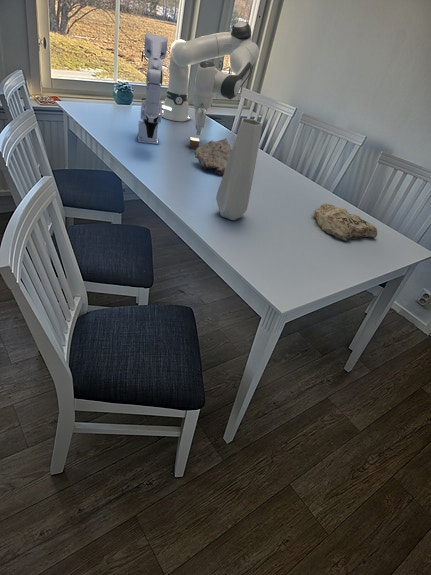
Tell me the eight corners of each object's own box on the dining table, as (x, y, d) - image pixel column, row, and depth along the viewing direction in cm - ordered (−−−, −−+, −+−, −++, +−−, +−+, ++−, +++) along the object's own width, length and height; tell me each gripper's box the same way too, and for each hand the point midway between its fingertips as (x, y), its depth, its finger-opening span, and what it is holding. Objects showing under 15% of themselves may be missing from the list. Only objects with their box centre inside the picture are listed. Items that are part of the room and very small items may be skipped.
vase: (253, 221, 137) (278, 128, 117) (226, 224, 131) (248, 127, 111) (236, 206, 144) (257, 116, 124) (210, 208, 139) (227, 114, 119)
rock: (234, 142, 173) (214, 126, 161) (245, 170, 166) (225, 155, 155) (210, 161, 180) (189, 148, 168) (219, 189, 174) (199, 176, 162)
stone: (347, 232, 131) (303, 198, 147) (341, 246, 135) (298, 211, 150) (382, 227, 141) (337, 195, 156) (375, 240, 144) (331, 207, 160)
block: (198, 149, 188) (199, 141, 185) (189, 148, 187) (190, 139, 184) (197, 146, 191) (198, 138, 188) (189, 145, 190) (190, 137, 188)
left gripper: (161, 107, 152) (159, 141, 160) (163, 99, 163) (160, 131, 171) (144, 104, 150) (142, 139, 159) (146, 96, 162) (144, 128, 170)
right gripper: (210, 108, 169) (205, 139, 178) (207, 97, 185) (202, 126, 194) (196, 106, 168) (192, 137, 177) (194, 95, 184) (190, 124, 192)
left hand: (150, 134), depth 165 cm, fingers open, 7 cm apart
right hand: (197, 131), depth 185 cm, fingers open, 8 cm apart
